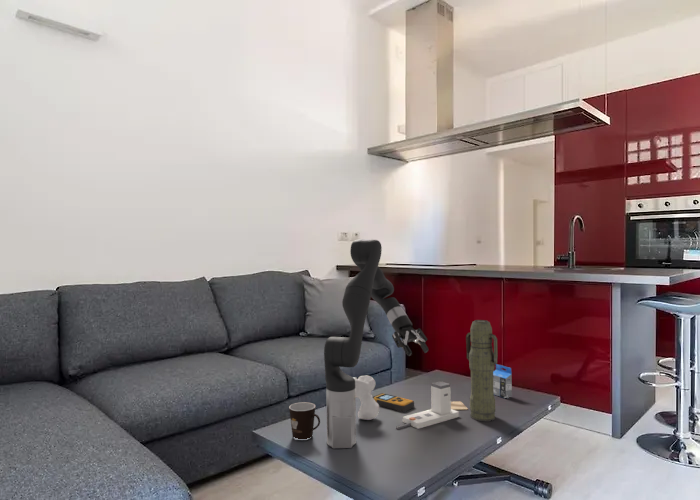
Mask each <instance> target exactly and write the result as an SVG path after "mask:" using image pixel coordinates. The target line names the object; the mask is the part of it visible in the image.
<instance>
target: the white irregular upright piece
mask: <svg viewBox="0 0 700 500" xmlns="http://www.w3.org/2000/svg"><path fill="white" fill-rule="evenodd" d="M352 377H353V378H354V379H355V399H356V398H358V399H359V400H360V403H361V405H360V407H359V409H358V412H357V417H358V419H360V420H367V421H370V420H373V419H375V418H377V417H378V415H379V412H380V406H379V405H378V403H376V401H375V400H374V399H373V394H372V392H373V391H374V389H375V387H376V380H375V379H374V378H373V377H372V376H370V375H366V374H365V375H360V376H359V377H358V378H357V377H356V376H355V377H354V376H352Z"/></svg>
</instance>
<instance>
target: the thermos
mask: <svg viewBox="0 0 700 500" xmlns="http://www.w3.org/2000/svg"><path fill="white" fill-rule="evenodd" d="M492 343H493V344H492ZM465 345H466V346H465V348H466V349H465V350H466V359H467V360H468V362H469V363H468V365H469V367H468V368H469V370H470V397H469V410H470V418H471V419H473V420H475V421H479V422H492V421H494V420H496V413H495V412H496V398H495V395H494V390H493V372H494V371H495V366H496V364H498V357H499V356H498V354H499V353H498V338H497V336H496V334H493V327H492V325H491V322H490V321H488V320H487V319H486V320H485V319H475V320H474V321H472V323H471V325H470V332H467V334H466V335H465ZM491 420H492V421H491Z"/></svg>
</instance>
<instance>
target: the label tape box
mask: <svg viewBox="0 0 700 500" xmlns="http://www.w3.org/2000/svg"><path fill="white" fill-rule="evenodd" d="M512 373H513V372H512V367H508V366H505V365H502V364H498V363H497V364H495V369H494V371H493V390H494V396H497V397H500V398H503V399H505V398H507V399H510V398H509V397H512V396H513V393H512V392H513V390H512V389H513V387H512V386H513V385H512V384H513V383H512V380H513V379H512V376H513V375H512Z"/></svg>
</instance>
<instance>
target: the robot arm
mask: <svg viewBox="0 0 700 500" xmlns="http://www.w3.org/2000/svg"><path fill="white" fill-rule="evenodd" d="M382 249H383V248H382V243H381V241H380V240H378V239H373V238H371V239H355V240H353V241H352V243H351V245H350V251H349V253H350V257H351V260H352V262H353V263H354V264H355V265H356V266H357V268H358V269H359V270H360V271H359V272H358V273H357V274H356V275H355V276H354V277H353V278H352V279H351V280H350V281H349V282H348V283H347V285H346V287H345V290H344V293H343V297H342V302H341V303H342V308H343V309H342V310H343V311H344V314H345V316H346V319H348V323H349V325H350V334H349V336H348V337H346V336H345V337H344V336H342V337H341V336H330V337H328V338H326V340H325V343H324V346H323V360H324V361H323V362H324V374H325V376H324V379H325V383H326V385H325V386H326V390H325V391H326V392H325V393H326V394H325V395H326V444H327V445H328V446H329V447H331V449H351V448H353V446H355V445H356V444H357V428H356V427H357V423H356V422H357V419H356V418H357V417H356V408H357V407H356V398H355V379H354V378H353V377H354V376H351V375H349V374H348V373H345V372H344V371H343V370H342V369H341V368H355V367H356V366H357V365H358V363H359V360H360V356H361V349H362V342H363V335H364V327H365V324H366V318H367V315H368V314H367V313H368V311H369V306H370V302H371V298H372V299H373V301H375V302H376V303H377V304H378V305H379V306H380V307H381V308H382V310H383V311H384V314H385V315H386V317H387V319H388V321H389V323H390V325H391V327H392V329H393V330H394V332H393V334H392V336H391V337H392V340H393V341H394V343H395V345H396V347H397V348H402V349H403V351H404V352H405V354H406V355H407V357H410V356H412V355H413V351H412V350H411V348H410V347H409V344H408V343H410V342H414V343H415V344H418V346H420V348H421V349H422V351H423V352H424V354H426V353H428V352H429V347H428V346H427V344H426V342H427V341H428V338H427V336H426V335H425V334H424V332H423V330H422V329H421V328H420V327H418V328H417V329H414V327H413V322H412V321H411V320H410V318H409V316H408V315H407V313H406V312H405V310H404V309H403V308H402V306H401V304H400V303H399V301H398V300H397V298H396V297H393V296H391V295H393V294H394V291H395V287H394V285H393V283H392V282H391V281H390V280H389V279H388V278H386V276H385V273H384V271H383V269H382V268H380V267H379V265H380V260H381V256H382ZM390 296H391V297H390Z"/></svg>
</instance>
